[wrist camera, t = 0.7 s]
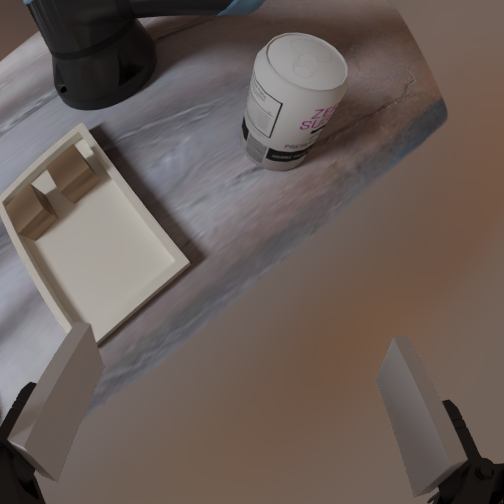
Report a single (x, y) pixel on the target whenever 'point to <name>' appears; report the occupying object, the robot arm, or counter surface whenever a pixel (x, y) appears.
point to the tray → (94, 244)
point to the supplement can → (291, 99)
